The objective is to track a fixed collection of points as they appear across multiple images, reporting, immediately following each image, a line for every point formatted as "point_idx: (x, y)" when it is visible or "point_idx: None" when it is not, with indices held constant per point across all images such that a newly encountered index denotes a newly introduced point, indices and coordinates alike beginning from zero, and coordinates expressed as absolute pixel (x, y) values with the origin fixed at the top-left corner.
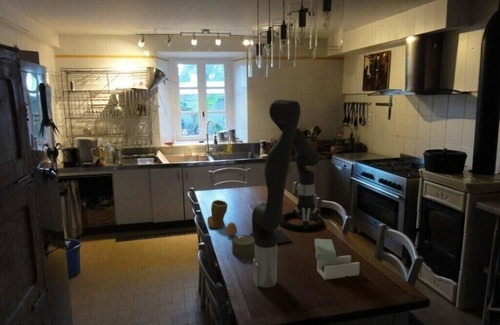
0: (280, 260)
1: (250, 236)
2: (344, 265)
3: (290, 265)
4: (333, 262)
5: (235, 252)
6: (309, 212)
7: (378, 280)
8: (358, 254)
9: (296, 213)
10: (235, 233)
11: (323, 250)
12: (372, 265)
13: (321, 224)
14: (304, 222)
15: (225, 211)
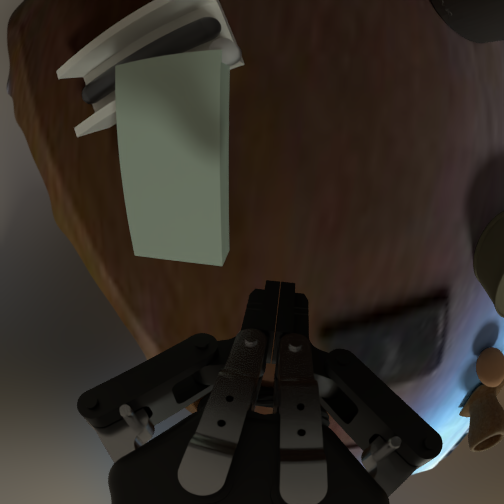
0: (407, 169)
1: (500, 310)
2: (109, 29)
3: (370, 115)
4: None
5: None
6: (207, 423)
7: (51, 57)
8: (86, 230)
9: (395, 417)
10: (483, 356)
11: (178, 94)
12: (52, 154)
13: (203, 403)
14: (291, 324)
15: (480, 424)
